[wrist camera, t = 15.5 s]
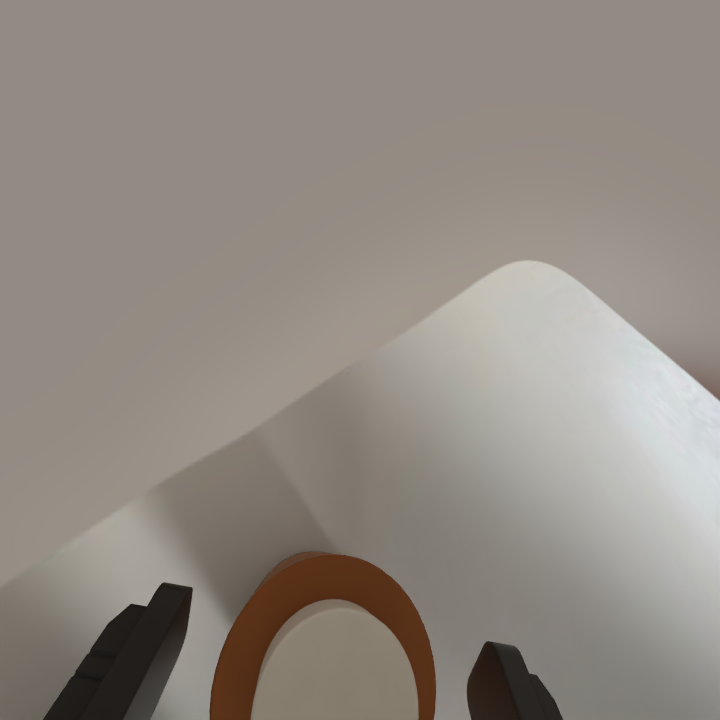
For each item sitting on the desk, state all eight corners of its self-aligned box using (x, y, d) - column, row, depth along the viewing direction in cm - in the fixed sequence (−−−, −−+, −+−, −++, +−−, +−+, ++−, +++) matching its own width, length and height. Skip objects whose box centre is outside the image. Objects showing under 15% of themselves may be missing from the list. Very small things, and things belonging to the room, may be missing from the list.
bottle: (363, 550, 16) (449, 554, 8) (364, 686, 14) (488, 906, 6) (256, 552, 16) (219, 557, 7) (240, 696, 13) (156, 969, 5)
